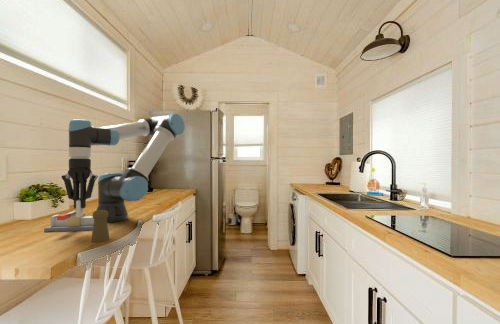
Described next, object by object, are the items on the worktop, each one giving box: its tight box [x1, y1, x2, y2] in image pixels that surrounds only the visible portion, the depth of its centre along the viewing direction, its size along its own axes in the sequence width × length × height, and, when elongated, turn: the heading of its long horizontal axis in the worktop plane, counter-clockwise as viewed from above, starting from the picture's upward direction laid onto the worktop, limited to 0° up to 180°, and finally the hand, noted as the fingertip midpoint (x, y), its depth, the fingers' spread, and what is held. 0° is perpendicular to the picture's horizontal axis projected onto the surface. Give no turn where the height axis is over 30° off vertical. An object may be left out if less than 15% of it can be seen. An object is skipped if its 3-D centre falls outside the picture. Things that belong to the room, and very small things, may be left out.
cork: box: [90, 209, 110, 243], centre depth 99 cm, size 6×6×11 cm
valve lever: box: [57, 209, 76, 220], centre depth 110 cm, size 3×14×2 cm, turn 9°
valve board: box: [43, 212, 94, 233], centre depth 116 cm, size 20×10×6 cm, turn 99°
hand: (79, 216), depth 107 cm, fingers closed
